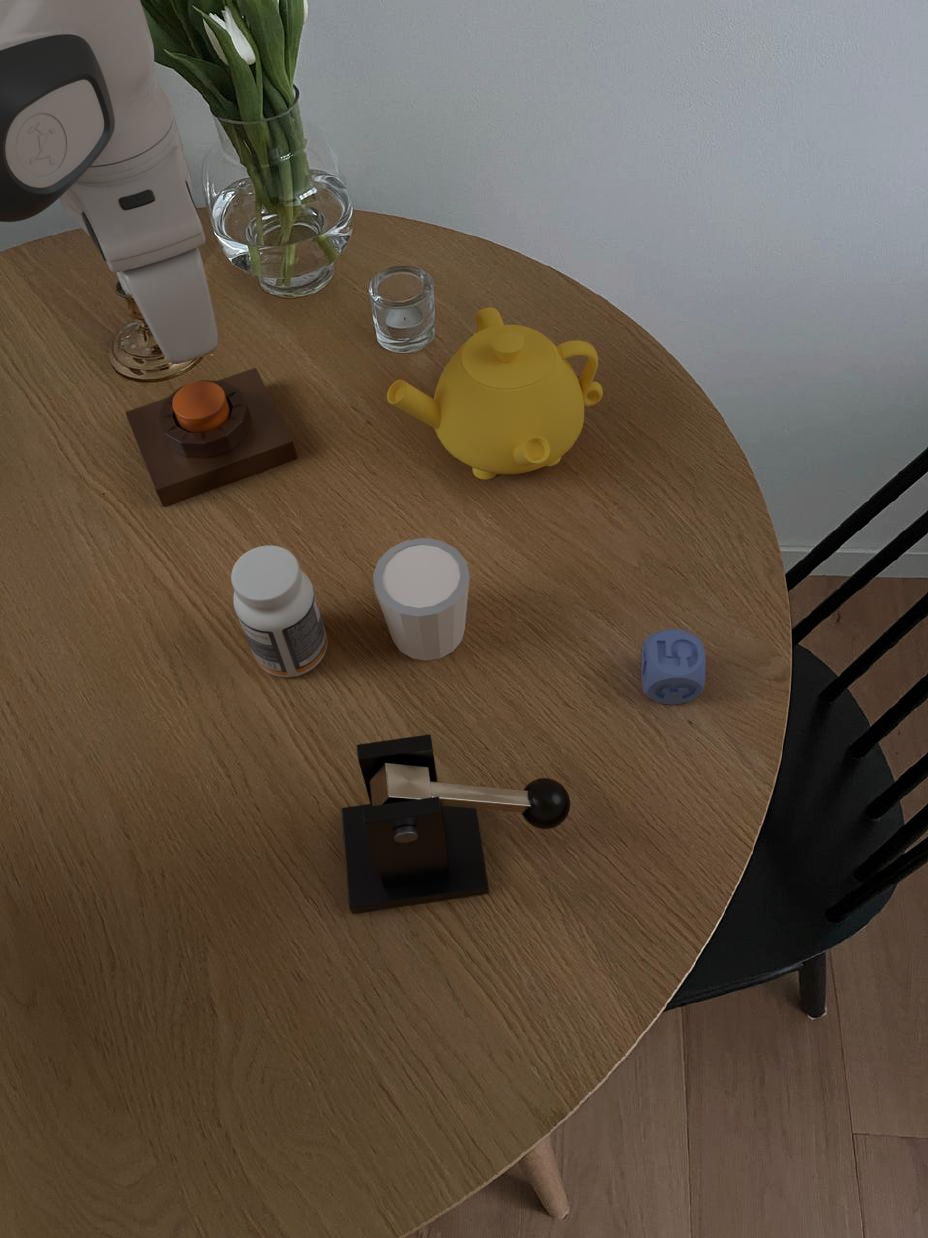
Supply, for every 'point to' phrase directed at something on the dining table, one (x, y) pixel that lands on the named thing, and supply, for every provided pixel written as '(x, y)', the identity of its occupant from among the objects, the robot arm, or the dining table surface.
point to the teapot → (506, 398)
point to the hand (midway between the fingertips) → (176, 329)
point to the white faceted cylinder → (423, 596)
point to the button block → (212, 441)
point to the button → (201, 407)
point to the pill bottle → (278, 611)
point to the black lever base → (409, 840)
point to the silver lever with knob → (473, 794)
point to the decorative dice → (673, 666)
